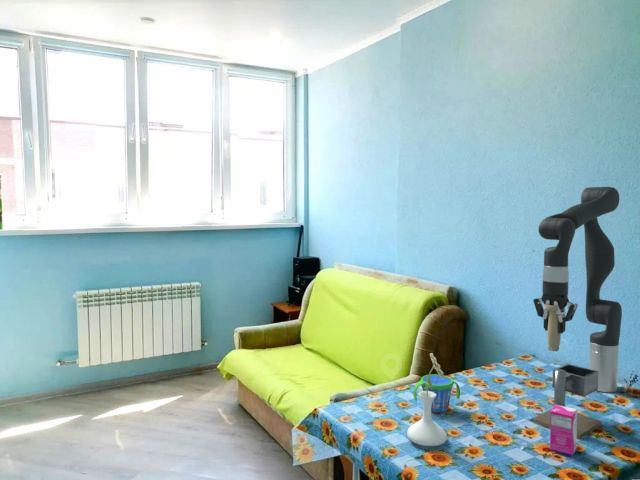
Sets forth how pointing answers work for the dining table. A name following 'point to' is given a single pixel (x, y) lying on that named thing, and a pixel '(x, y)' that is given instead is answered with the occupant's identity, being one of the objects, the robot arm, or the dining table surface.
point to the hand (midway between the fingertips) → (554, 331)
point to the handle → (553, 328)
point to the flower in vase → (428, 417)
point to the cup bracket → (576, 383)
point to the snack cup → (438, 391)
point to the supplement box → (563, 430)
